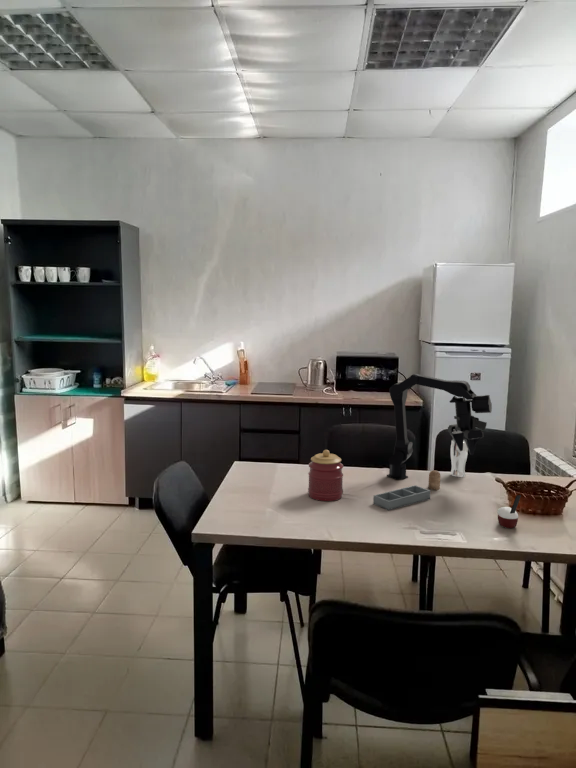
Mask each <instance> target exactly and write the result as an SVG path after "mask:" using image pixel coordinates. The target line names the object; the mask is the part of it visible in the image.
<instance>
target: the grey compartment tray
mask: <svg viewBox="0 0 576 768" xmlns="http://www.w3.org/2000/svg"><path fill="white" fill-rule="evenodd" d="M431 491H432V490H431V489H427V488H424V487H422V486H418V485H415V484H413V485H410V486H408V487H407V486H406V487H402V488H399V489H398V488H397V489H394V490H389V491H385V492H382V493H378V494H374V495H373V501H372V503H373V505H375V506H377V507H379V508H382V509H384V510H386V511H391V510H395V509H398V508H402V507H405V506H406V507H407V506H409V505H413V504H417V503H420V502H424V501H428V500H431V493H432V492H431Z"/></svg>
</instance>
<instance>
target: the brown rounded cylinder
mask: <svg viewBox="0 0 576 768" xmlns="http://www.w3.org/2000/svg"><path fill="white" fill-rule="evenodd" d="M427 487H428V490H431V491H432V490H433V491H437V490H440V489H441V473H440V472H439V471H438V470H434V469H433V470H430V472H429V473H428V484H427Z"/></svg>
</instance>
